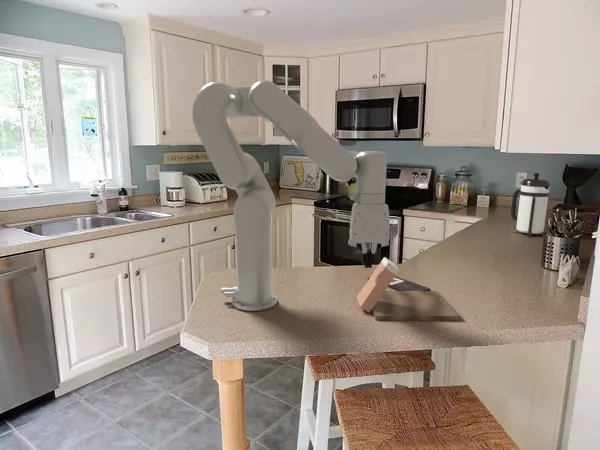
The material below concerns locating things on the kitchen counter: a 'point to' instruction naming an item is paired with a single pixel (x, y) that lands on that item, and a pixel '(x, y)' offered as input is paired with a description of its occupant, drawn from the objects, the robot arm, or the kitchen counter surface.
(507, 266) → the kitchen counter surface
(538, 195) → the coffee press
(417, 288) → the chocolate bar
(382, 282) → the slab
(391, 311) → the board
